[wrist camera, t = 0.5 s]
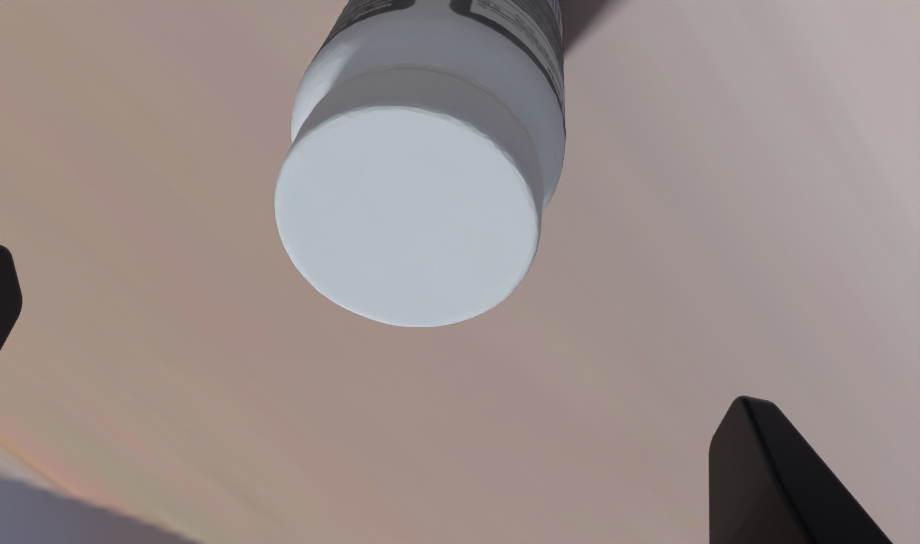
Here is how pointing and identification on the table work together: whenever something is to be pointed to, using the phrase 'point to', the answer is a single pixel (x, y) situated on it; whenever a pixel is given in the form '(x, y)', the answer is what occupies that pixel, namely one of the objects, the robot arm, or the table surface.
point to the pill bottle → (425, 156)
